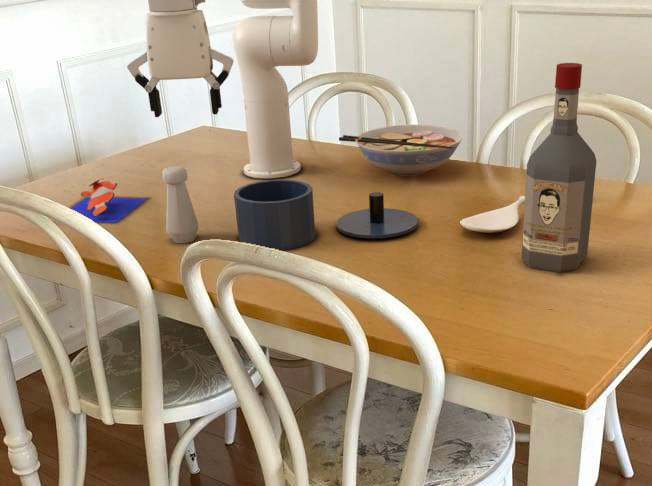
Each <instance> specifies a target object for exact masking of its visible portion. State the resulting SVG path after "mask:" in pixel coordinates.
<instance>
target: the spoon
mask: <svg viewBox="0 0 652 486" xmlns="http://www.w3.org/2000/svg"><path fill="white" fill-rule="evenodd" d="M522 205H525V195H519V197H518V198H517V200H516V201H514V202H513V203H511V204H509V205H507V206H504V207H501V208H497V209H493V210H489V211H486V212H485V211H484V212H482V213H478V214H475V215H472V216H468V217H465V218H462V219H461V220H459V223H460V225H461V226H462V227H463V228H465V229H467V230H468V231H472V232H476V233H477V232H478V233H487V234H492V233H500V232H504V231H507V230H510V229H512V228H513V227H514V226H516V225H517V224H518V222H519V217H520V216H519V208H520V207H521V206H522Z"/></svg>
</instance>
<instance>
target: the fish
mask: <svg viewBox="0 0 652 486" xmlns="http://www.w3.org/2000/svg"><path fill="white" fill-rule="evenodd" d="M117 186H118V182H115V183H113V182H111V181H110V180H108V179H106V178H104V177H101V178H100V179H97V180H95V181H94V182H92V183H90V184H89V185H88V187H91V190H88V191H86V190H85V191H82V192H80V196H81V197H83V198H87V197H90V198H89V200H88V202H87V203H86V204H87V207H86V210H87V211H92V210H93V212H92V216H93V217H98V216H100V215H102V214H104V213H106V212H107V211H108V206H107V205H106V203H109V202H111V201H112V200H113V199H114V198H115V193H114V190H115V189H116V187H117Z"/></svg>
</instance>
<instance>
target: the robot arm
mask: <svg viewBox="0 0 652 486" xmlns="http://www.w3.org/2000/svg"><path fill="white" fill-rule="evenodd" d="M240 2H241V4H242V5H243V6H245V7H247V8H250V9H259V10H263V9H264V10H269V9H272V10H273V9H276V10H277V9H290V10H291V12H292V15H254V16H248V17H244V18H242V19H241V20H239V21H238V22H237V23H236V24H235V26H234V28H233V32H232V43H233V49H234V53H235V56H236V60H237V64H238V68H239V74H240V80H241V87H242V89H241V90H242V98H243V105H244V117H245V127H246V137H247V145H248V155H249V156H248V157H249V163H247V164H246V165H244V167H243V174H244V175H245V176H247V177H249V178H253V179H263V180H264V179H265V180H272V179H281V178H286V177H290V176H293V175H296V174H297V173H300V171H301V169H302V168H301V167H302V166H301V165H302V164H301V163H300V162H299V161H298V160H295V159H294V155H293V141H292V131H291V130H292V129H291V128H292V127H291V115H290V102H289V90H288V89H289V88H288V85H287V83H286V81H285V79H284V77H283V76H282V74H281V73H280V72H279V70H278V69H277V68H276V67H303V66H309V65H311V64H313V63H314V62H315V60H316V59H317V56H318V52H319V23H318V22H319V18H318V0H240ZM202 3H204V4H205V3H206V0H147V4H148V11H149V12H147V13H146V14H145V45H146V46H145V47H146V52H144V53H142V54H141V55H140V56H138V57H136V58H135V59H133V60H132V61H130V62H129V63H128V64H127V65H126V67H127V70H128V72H129V73H130V74H131V76H132V77H133V79H134V80H135V82H136V83H137V84H138V85H139V86H140V87H142V88H143V89H144V91H145V92H146V93H147V94H148V102H149V108H150V109H149V110H150V111H151V112H153V114H154V118H159V117H161V115H162V114H163V108H162V102H161V94H160V90H159V89H158V88H157V87H158V86H157V85H158V84H159V82H160V81H169V80H170V81H171V80H172V81H173V80H191V79H194V80H195V79H202V78H203V79H204V80H205V81H206V82H207V83H208V84H209V85H210V89H209V96H210V105H211V114H212V115H214V116H215V115H218V113H219V112H220V111H219V109H222V106H223V105H222V95H221V86H222V85H223V84H224V82H225V81H226V80H227V79H228V77H229V75H230V73H231V70H232V67H233V66H234V65H233V64H234V62H235V61H234V59H233V58H232V57H231V56H228V55H226V54H225V53H222V52H221V51H218V50H217V49H214V48H212V45H211V40H210V34H209V30H208V26H207V20H206V18H205V17H206V16H205V14H204V12H203V9H198V6H199V5H201V4H202ZM214 61H217V62H219V63H221V64H222V65H223V66H222V70H221V71H220V73H219V74H218V75H216V74H215V72H213V69H214ZM146 63H147V66H148V67H147V68H148V72H149V75H150V78H149V79H148V78H147V77H146V76H145V75H144V74H143V73H142V71H141V70H140V67H141V66H143V65H144V64H146Z"/></svg>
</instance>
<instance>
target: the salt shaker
mask: <svg viewBox="0 0 652 486" xmlns="http://www.w3.org/2000/svg"><path fill="white" fill-rule="evenodd" d="M161 178H162V182H163V183H165V184H166V215H165V216H166V217H165V230H166V233H167V234H168V235H169V237H170V238H171V240H172V241H173V243H175V244H188V243H192V242H194V240H195V239H196V237H197V235H198V230H199V222H198V219H197V215H196V213H195V209H194V205H193V203H192V200H191V196H190V193H189V190H188V187H187V184H186V182H187V180H188V172H187V169H186V168H185V167H183V166H179V165H174V166H168V167H165V168H164V169H163V170H162V172H161Z"/></svg>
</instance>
